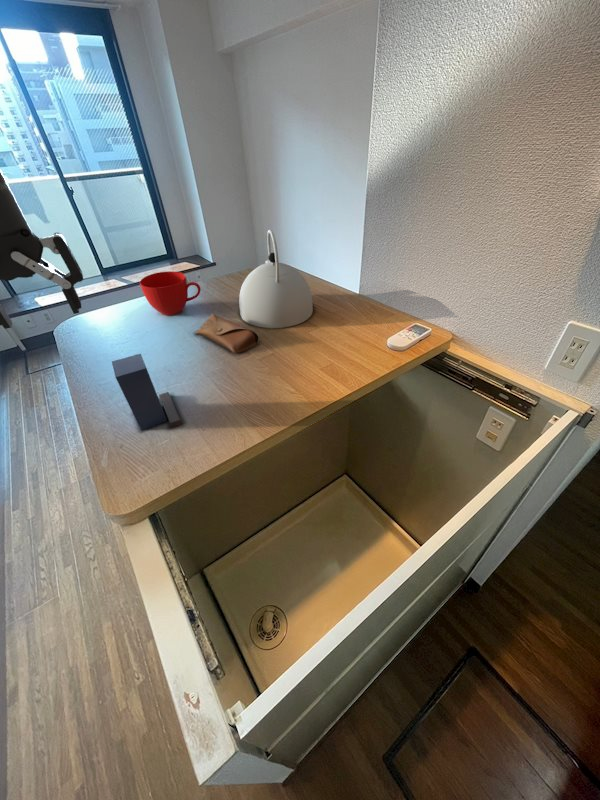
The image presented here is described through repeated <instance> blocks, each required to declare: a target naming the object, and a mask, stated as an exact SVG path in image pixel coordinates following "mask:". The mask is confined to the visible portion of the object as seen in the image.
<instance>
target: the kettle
mask: <svg viewBox="0 0 600 800" xmlns="http://www.w3.org/2000/svg"><path fill="white" fill-rule="evenodd" d="M266 235H267V237H266V238H267V239H266V240H267V241H266V242H267V253H268V259H266V260H265V263H262V264H260V265H259V266H257V267H256V268H254V269H253V270H252V271H251V272H250V273H249V274H248V275H247V276H246V277H245V279H244V280H243V282H242V285H241V287H240V290H239V296H238V304H239V305H238V306H239V315H240V317H241V319H242V320H243V321H244V322H246V323H247V324H249V325H251V326H255V327H259V328H264V329H282V328H289V327H293V326H296V325H299V324H301V323H303V322H305V321H307V320H309V318H311V316H312V315H313V311H314V308H313V307H314V306H313V295H312V290H311V287H310V284H309V283H308V281H307V280H306V278H305V277H304V275H303V274H301V273H300V271H298V270H297V269H296V268H294V267H293V266H291V265H289V264H287V263H285V262H280V261H279V253H278V246H277V240H276V237H275V236H276V235H275V234H274V232H273V230H272V229H268V230H267V234H266ZM271 240H272V241H271ZM271 242H272V246H273V252H272V249H271Z"/></svg>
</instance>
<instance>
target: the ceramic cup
mask: <svg viewBox="0 0 600 800" xmlns="http://www.w3.org/2000/svg"><path fill="white" fill-rule="evenodd" d="M139 286H140V287H141V291H142V293H143V295H144V297H145V299H146V300H147V302H148V303H149V305H150V306H151V308H153V309H154V310H156V311H157V312H158V313H160V314H161V315H164V316H175V315H178V314H181V313H182V312H183V310H184V308H185V306H186V304H187V302H190V301H192V300H194V299H197V298H198V297H199V296H200V294H201V286H200V284H199V283H198V282H195V281H190V282H187V277H186V275H185V274H184V273H183V272H180V271H169V270H168V271H159V272H155V273H152V274H151V273H150V274H148V275H146V276H144V277H142V278H141V279H140V281H139ZM191 286H195V287H196V288H197V292H196V294H195V295H193V296H191V297H189V291H188V290H189V288H190V287H191Z"/></svg>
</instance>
